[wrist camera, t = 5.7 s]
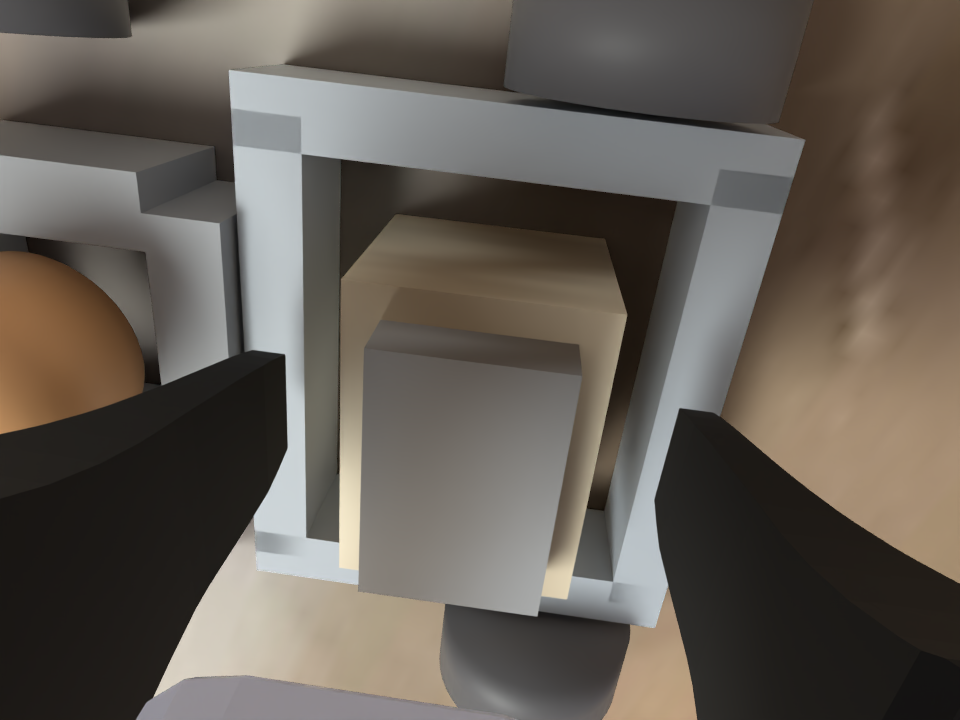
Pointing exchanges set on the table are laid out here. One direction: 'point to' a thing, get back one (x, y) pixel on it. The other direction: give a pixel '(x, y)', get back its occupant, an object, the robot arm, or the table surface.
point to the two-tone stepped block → (472, 409)
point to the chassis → (471, 151)
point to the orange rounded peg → (60, 344)
